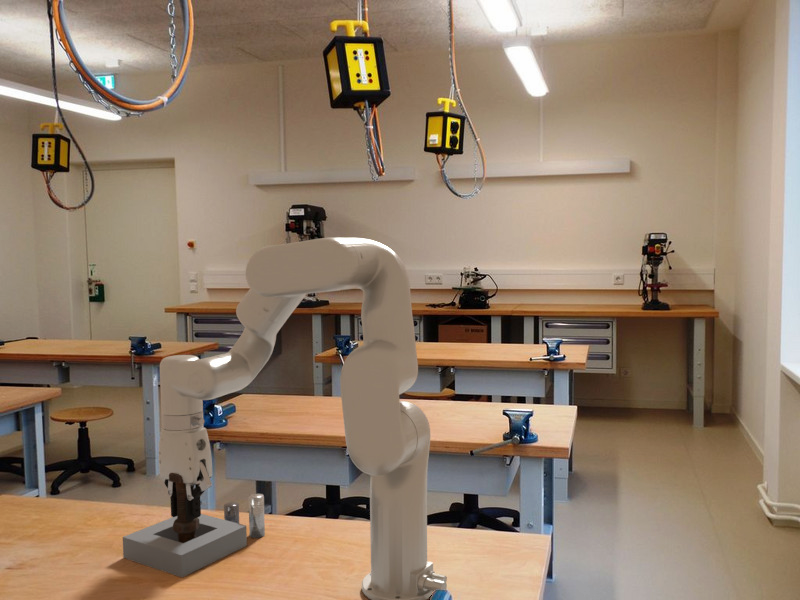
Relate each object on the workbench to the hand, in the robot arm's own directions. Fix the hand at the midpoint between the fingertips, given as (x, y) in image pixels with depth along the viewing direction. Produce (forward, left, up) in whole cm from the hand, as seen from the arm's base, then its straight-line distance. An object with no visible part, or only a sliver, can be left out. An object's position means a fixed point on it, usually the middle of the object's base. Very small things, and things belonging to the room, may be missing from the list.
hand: (186, 515), depth 138 cm
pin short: (+1, -13, -7) cm, 15 cm away
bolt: (0, 0, -6) cm, 6 cm away
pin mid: (-6, -13, -7) cm, 16 cm away
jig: (0, 0, -7) cm, 7 cm away
